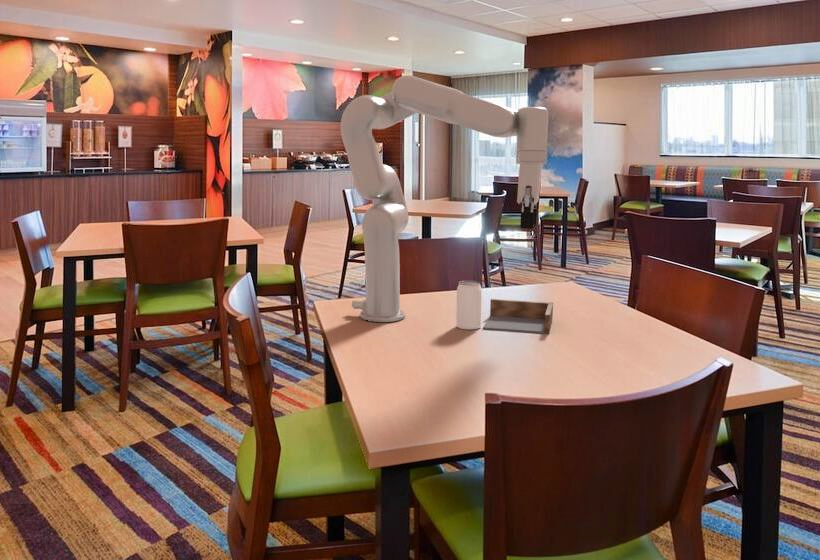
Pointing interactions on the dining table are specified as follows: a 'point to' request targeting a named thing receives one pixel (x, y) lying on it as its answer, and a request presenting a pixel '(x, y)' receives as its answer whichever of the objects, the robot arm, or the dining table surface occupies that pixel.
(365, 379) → the dining table surface
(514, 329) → the mat
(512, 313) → the corner walls
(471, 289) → the can
